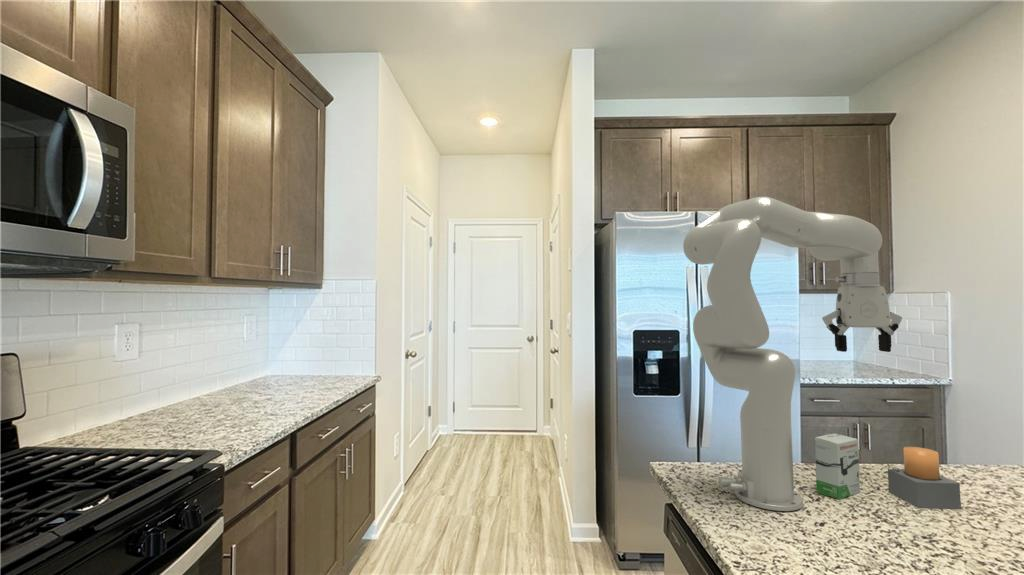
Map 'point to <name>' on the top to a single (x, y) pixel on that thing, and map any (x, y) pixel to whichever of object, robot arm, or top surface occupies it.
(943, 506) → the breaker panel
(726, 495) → the top surface
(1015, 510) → the top surface
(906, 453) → the cap
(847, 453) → the ink box
